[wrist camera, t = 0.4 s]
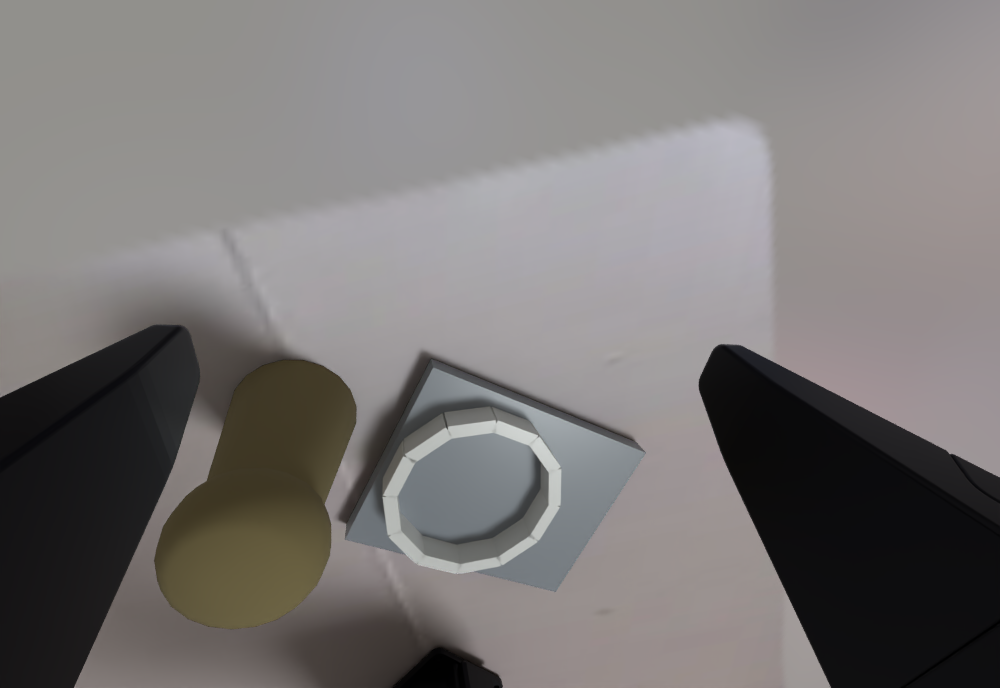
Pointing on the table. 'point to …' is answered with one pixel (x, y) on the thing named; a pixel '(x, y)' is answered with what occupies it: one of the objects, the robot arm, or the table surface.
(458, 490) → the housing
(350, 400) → the olive pawn
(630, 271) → the table surface
